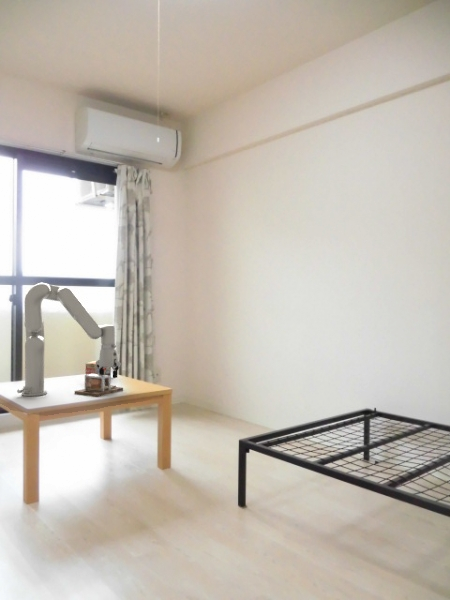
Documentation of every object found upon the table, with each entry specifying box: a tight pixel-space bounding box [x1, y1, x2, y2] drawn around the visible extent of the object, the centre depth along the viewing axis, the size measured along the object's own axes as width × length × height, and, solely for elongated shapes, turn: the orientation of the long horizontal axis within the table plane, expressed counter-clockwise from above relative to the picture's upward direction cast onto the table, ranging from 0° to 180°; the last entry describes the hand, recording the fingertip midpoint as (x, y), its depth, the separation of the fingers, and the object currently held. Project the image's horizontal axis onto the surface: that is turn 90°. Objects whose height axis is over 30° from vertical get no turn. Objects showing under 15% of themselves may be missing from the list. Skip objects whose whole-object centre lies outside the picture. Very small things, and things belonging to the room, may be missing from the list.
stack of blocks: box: [85, 360, 112, 381], centre depth 299 cm, size 21×6×12 cm, turn 167°
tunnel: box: [84, 374, 112, 392], centre depth 260 cm, size 6×13×8 cm, turn 63°
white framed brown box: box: [87, 373, 117, 391], centre depth 264 cm, size 13×9×8 cm
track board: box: [74, 386, 124, 398], centre depth 262 cm, size 21×16×2 cm
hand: (108, 377), depth 268 cm, fingers open, 9 cm apart
